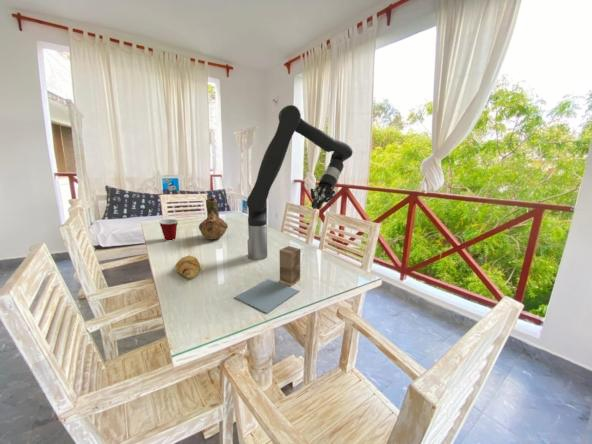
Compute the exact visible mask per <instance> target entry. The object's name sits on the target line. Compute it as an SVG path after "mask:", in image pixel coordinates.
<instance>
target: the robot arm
mask: <svg viewBox="0 0 592 444" xmlns="http://www.w3.org/2000/svg"><path fill="white" fill-rule="evenodd" d="M301 115H302V114H301V111H300V109H299V108H298V107H297V106H296V105H294V104H293V105H292V104H290V105H286V106H284V107H283V108H282V109H281V110H280V111H279V112H278V121H279V123H278V125H277V129H276V131H275V134H274V136H273V138H272V139H271V141H270V142H269V144H268V146H267V149H266V150H265V152H264V155H263V158H262V160H261V163H260V166H259V169H258V173H257V177H256V181H255V183H254V186H253V188H252V190H251V191H250V193H249V196H248V197H247V199H246V207H247V208H248V211H247V212H248V214H247V215H248V218H247V226H248V228H247V229H248V239H247V257H248V259H252V260H263V259H266V258H268V225H267V224H268V221H267V219H268V214H267V213H268V212H267V211H268V210H267V209H268V207H267V204H268V202H267V200H268V197H269V193H270V190H271V188H272V185H273V184H274V182H275V180H276V178H277V177H278V175H279V172H280V170H281V168H282V165H283V163H284V160H285V157H286V154H287V151H288V148H289V145H290V143H291V140H292V137H293V136H294V133H295V132H296V133H297V134H299V135H301V136H302V137H304V138H306V139H307V140H308V141H310V142H311V143H313V144H314V145H315V146H316V147H318V148H319V149H322V150H323V151H325V152H326V153H331V152H332V153H331V156H330V160H329V163H328V165H327V167H326V169H325V170H324V172H323V174H322V176H321V178H320V179H319V182H318V185H317V186H316V188H314V189H313V188H310V198H311V200H312V203H311V208H312V209H313V210H314V209H316V210H320V209H321V208H322V206H323V204H324V203H325V204H327V203H328V202H330V201H331V200H332V199H334V198H335V197H336V196H337V193H336V191H335V190H334V189H335V187H336V185H337V183H338V182H339V179H340V176H341V173H342V171H343V169H344V167H345V166H344V162H345V161H346V160H348V159H349V158H351V157H352V156H353V152H354V150H353V149H352V146H350V145H349V144H348V143H346V142H344V141H342V140H338V139H336V138H333V137H332V136H331V135H329V134H328V133H326V132H325V131H323V130H321V129H319V128H317V127H316V126H313V125H312V124H310V123H308V122H307V121H306V120H304V119H303V118H302V116H301Z"/></svg>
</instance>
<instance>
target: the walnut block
mask: <svg viewBox="0 0 592 444" xmlns="http://www.w3.org/2000/svg"><path fill="white" fill-rule="evenodd" d="M300 281H301V248H298V247H294V246H291V245H290V246H286V247H283V248H281V249H279V283H280V284H283V285H285V286H288V287H292V286H294V285H296V284H297V283H299V282H300Z"/></svg>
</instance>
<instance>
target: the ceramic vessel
mask: <svg viewBox="0 0 592 444" xmlns="http://www.w3.org/2000/svg"><path fill="white" fill-rule="evenodd" d="M205 205H206V206H205V208H206V214H207V217H206V219H204V220H203V221H202V222H200V223H199V224H198V229H199V231H200V233H201V235H202V236H203V237H204V238H206V239H209V240H216V239H219V238H221V237H223V236H224V235H225V233H226V232H227V229H228V223H227V222H226V221H225V220H223V218H221V217H220V215H219V206H218V200H217V199H216V198H215V197H213V198H207V199H205Z"/></svg>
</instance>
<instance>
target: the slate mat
mask: <svg viewBox="0 0 592 444" xmlns="http://www.w3.org/2000/svg"><path fill="white" fill-rule="evenodd" d="M298 293H300V290H298V289H296V288H293V287H292V286H289V285H286V284H284V283H281V282H277V281H275V280H272V279H269V278H267V279H266V280H263V281H262V282H260V283H258V284H256V285H254V286H252V287H251V288H249V289H246V290H245V291H243V292H241V293H239V294H238V295H235V296H234V299H235V298H237V299H236V300H238V299H239V300H238V301H240V300H241V301H240V302H242V301H243V302H242V303H244V302H245V303H244V304H246V303H247V304H246V305H248V304H249V305H248V306H250V305H252V306H254V307H255V308H254V307H253V308H254V309H256V308H257V309H256V310H258V309H259V310H258V311H260V310H261V311H260V312H262V311H263V312H262V313H264V312H265V313H264V314H266V313H268V314H269V313H270V312H272V311H273V310H275V309H277V307H279V306H280V305H282V304H283V303H285V302H287V301H288V300H290V299H291V298H292V297H294V296H295V295H297V294H298ZM252 306H251V307H252Z"/></svg>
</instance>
